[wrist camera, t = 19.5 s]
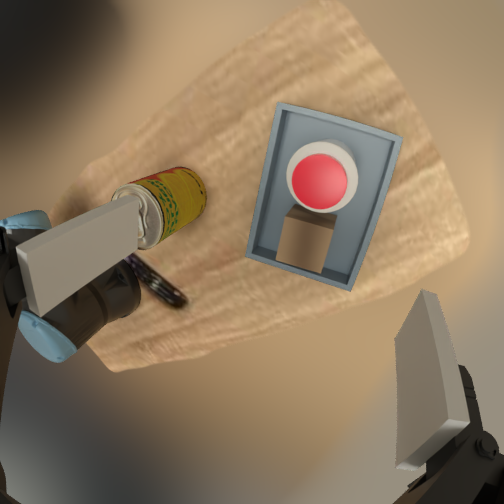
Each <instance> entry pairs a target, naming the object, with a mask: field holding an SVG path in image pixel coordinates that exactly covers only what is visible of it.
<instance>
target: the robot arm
mask: <svg viewBox="0 0 504 504" xmlns="http://www.w3.org/2000/svg"><path fill="white" fill-rule="evenodd" d="M138 217H139V198H137V197H133V196H130V195H126V196H123V197H121V198H118V199H116V200H114V201H111V202H109V203H106V204H104V205H102V206H100V207H97V208H95V209H93V210H90V211H88V212H86V213H84V214H81V215H79V216H77V217H75V218H73V219H71V220H68V221H66V222H64V223H62V224H60V225H58V226H56V227H54V228H52V226H51V223H50V220H49V218H48V216H47V214H46V213H45V212H44V211H41V210H34V211H28V212H24V213H20V214H17V215H14V216H11V217H8V218H7V219H3V220H0V420H1V412H2V402H3V396H4V389H5V382H6V377H7V371H8V366H9V361H10V355H11V351H12V347H13V342H14V338H15V334H16V330H17V326H18V327H19V329H20V331H21V332H22V334H23V335H24V337H25V338H26V339H27V341H28V342H29V343H30V344H31V345H32V346H33V348H35V349H36V350H37V351H38V352H39V353H40V354H41V355H42V356H44V357H45V358H47V359H48V360H50V361H53V362H63V361H64V360H66V359H67V358H68V357H70V356H71V355H72V354H74V353H76V352H77V350H78V349H79V348H80V347H81V346H82V345H83V344H85V343H86V342H87V341H88V340H89V339H90V338H91V337H92V336H93V335H94V334H96V333H97V332H98V331H99V330H100V329H101V328H102V327H103V326H104V325H106V324H107V323H109V322H112V321H114V320H117V319H118V318H124V317H126V316H128V315H130V314H131V313H132V312H133V311H134V310H135V309H136V308H137V307H138V305H139V303H140V288H139V284H138V281H137V279H136V277H135V275H134V273H133V271H132V270H131V268H130V267H129V265H128V264H127V263H126V262H125V261H124V260H123V259H124V258H125V257H127V256H128V255H130V254H131V253H133V252H134V251H136V250H137V249H138ZM395 353H396V374H397V443H396V462H395V468H399V469H406V470H413V471H415V470H417V469H418V468H419V467H421V466H422V465H423V464H424V463H426V473H424V474H423V475H422V476H420V477H419V478H417V479H416V480H415V481H413V482H412V483H411V484H409V485H408V487H409V489H408V490H407V491H406V492H405V493H404V494H403V495H402V496H400V497H399V498H398V499H397V500H396V501H395V502H394V503H393V504H504V455H502V454H500V453H499V447H498V444H497V442H496V440H495V439H494V437H493V436H492V435H491V434H489V433H488V432H486V431H483V427H482V422H481V417H480V412H479V407H478V403H477V400H476V394H475V391H474V386H473V382H472V378H471V376H470V374H469V373H468V371H467V369H466V368H465V366H462V365H458V363H457V359H456V355H455V352H454V348H453V344H452V341H451V338H450V334H449V331H448V328H447V324H446V321H445V318H444V315H443V312H442V309H441V306H440V303H439V300H438V297H437V294H435V293H432V292H429V291H426V290H423V289H421V291H420V293H419V295H418V297H417V299H416V301H415V303H414V304H413V306H412V308H411V310H410V312H409V314H408V316H407V318H406V320H405V321H404V323H403V325H402V327H401V329H400V330H399V332H398V334H397V336H396V337H395ZM0 504H21V503H19V502H18V501H16V500H15V499H13V498H12V497H11V496H9V495H8V494H7V492H6V478H5V473H4V470H3V467H2V465H1V462H0Z"/></svg>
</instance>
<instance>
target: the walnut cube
mask: <svg viewBox="0 0 504 504" xmlns="http://www.w3.org/2000/svg"><path fill="white" fill-rule="evenodd" d="M336 218H337V215H333V214H330V213H319V212H314V211H311V210H309V209H307V208H305V207H303V206H301V205H298V204H294V205H293V207H292V208H291V209H290V211H289V212H288V213H287V214H286V216H285V219H284V224H283V228H282V233H281V237H280V242H279V247H278V251H277V256H276V260H277V261H280V262H284V263H287V264H290V265H294V266H297V267H300V268H304V269H307V270H310V271H314V272H317V273H320V274H321V272H322V268H323V265H324V262H325V258H326V255H327V252H328V248H329V245H330V241H331V238H332V234H333V231H334V227H335V223H336Z"/></svg>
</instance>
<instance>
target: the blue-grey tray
mask: <svg viewBox="0 0 504 504" xmlns="http://www.w3.org/2000/svg"><path fill="white" fill-rule="evenodd" d="M323 138H332V139H336V140H339V141H341V142H343V143H344V144H346V145H347V146H348V147H349V148H350V149H351V150H352V152H353V153H354V155H355V157H356V160H357V165H358V186H357V190H356V192H355V194H354V196H353V198H352V199H351V200H350V202H349V203H348V204H346V205H345V206H344V207H342V208H341V209H339V210H336V211H333V212H328V213H330V214H333V215H337V218H336V223H335V227H334V231H333V234H332V238H331V241H330V245H329V248H328V252H327V255H326V258H325V262H324V265H323V268H322V272H321V274H320V273H317V272H314V271H310V270H307V269H304V268H300V267H297V266H294V265H290V264H287V263H284V262H280V261H277V260H276V256H277V251H278V247H279V242H280V237H281V233H282V228H283V224H284V219H285V216H286V214H287V213H288V212H289V211H290V209H291V208H292V207H293V205H294V204H298V205H300V204H299V203H298V202H297V201H296V200H295V199H294V197H293V196H292V194H291V193H290V190H289V188H288V185H287V180H286V172H287V166H288V164H289V161H290V159H291V158H292V156H293V155H294V153H295V152H296V151H297V150H298V149H300V148H301V147H303V146H304V145H306V144H309V143H311V142H313V141H316V140H318V139H323ZM402 139H403V137H400V136H398V135H395V134H392V133H389V132H386V131H383V130H380V129H377V128H374V127H371V126H368V125H365V124H362V123H358V122H355V121H352V120H348V119H345V118H341V117H338V116H334V115H330V114H327V113H323V112H319V111H315V110H311V109H307V108H303V107H298V106H294V105H289V104H285V103H280V102H277V106H276V111H275V115H274V120H273V125H272V129H271V134H270V139H269V144H268V148H267V153H266V158H265V163H264V167H263V172H262V177H261V182H260V187H259V191H258V196H257V201H256V206H255V211H254V215H253V220H252V225H251V230H250V235H249V240H248V244H247V249H246V254H245V257H248V258H251V259H254V260H257V261H260V262H263V263H266V264H269V265H272V266H275V267H278V268H281V269H284V270H287V271H290V272H293V273H296V274H299V275H302V276H305V277H308V278H311V279H314V280H317V281H320V282H323V283H326V284H329V285H332V286H335V287H338V288H341V289H344V290H347V291H350V292H351V289H352V287H353V285H354V282H355V280H356V277H357V275H358V272H359V270H360V267H361V264H362V262H363V259H364V257H365V254H366V251H367V249H368V246H369V243H370V241H371V238H372V235H373V232H374V229H375V227H376V224H377V221H378V218H379V215H380V212H381V209H382V206H383V203H384V200H385V197H386V194H387V191H388V188H389V184H390V181H391V178H392V175H393V171H394V168H395V164H396V161H397V158H398V154H399V150H400V147H401V143H402ZM301 206H302V205H301Z"/></svg>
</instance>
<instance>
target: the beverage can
mask: <svg viewBox="0 0 504 504" xmlns="http://www.w3.org/2000/svg"><path fill="white" fill-rule="evenodd" d="M126 195H130V196H133V197H137V198H139V217H138V249H139V250H146V249H150V248H152V247H153V246H155V245H157V244H158V243H159V242H161V241H162V240H164V239H165V238H167V237H168V236H170V235H171V234H173V233H174V232H176V231H177V230H179V229H181V228H182V227H184V226H185V225H187V224H188V223H190V222H191V221H193V220H194V219H196V218H197V217H199V216H200V215H201V213H202V212H203V210H204V208H205V206H206V200H207V196H206V189H205V186H204V184H203V182H202V180H201V179H200V177H199V176H198V175H197V174H196V173H195V172H193V171H192V170H190V169H188V168H184V167H175V168H172V169H169V170H165V171H162V172H159V173H156V174H153V175H150V176H147V177H144V178H141V179H139V180H136V181H133V182H130V183H127V184H125V185H122V186H120V187H119V188H118V189H117V190H116V191H115V193H114V195H113V196H112V199H111V201H114V200H116V199H118V198H121V197H123V196H126Z"/></svg>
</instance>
